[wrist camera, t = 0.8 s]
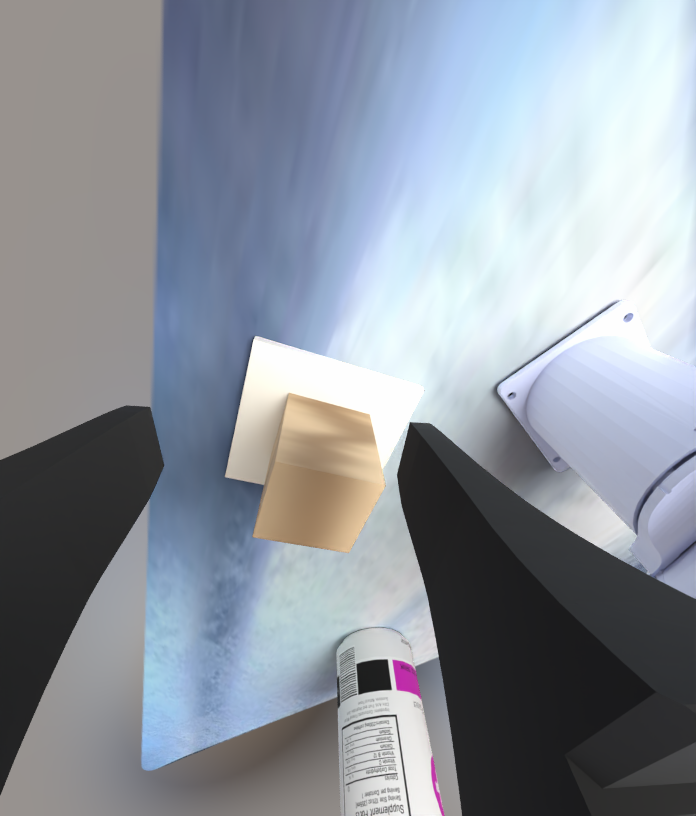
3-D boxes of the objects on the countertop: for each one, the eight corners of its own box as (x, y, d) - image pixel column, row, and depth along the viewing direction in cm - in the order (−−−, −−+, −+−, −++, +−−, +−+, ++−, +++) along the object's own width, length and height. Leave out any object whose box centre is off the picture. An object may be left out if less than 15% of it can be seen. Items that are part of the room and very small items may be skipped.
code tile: (421, 385, 19) (424, 390, 19) (363, 499, 24) (364, 505, 24) (255, 335, 17) (253, 339, 17) (227, 471, 22) (224, 477, 21)
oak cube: (369, 414, 20) (385, 485, 14) (343, 473, 22) (348, 553, 17) (288, 392, 18) (275, 461, 13) (270, 457, 21) (252, 537, 16)
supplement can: (420, 627, 35) (475, 867, 22) (393, 661, 39) (426, 881, 26) (348, 621, 33) (363, 875, 20) (328, 657, 37) (329, 890, 24)
